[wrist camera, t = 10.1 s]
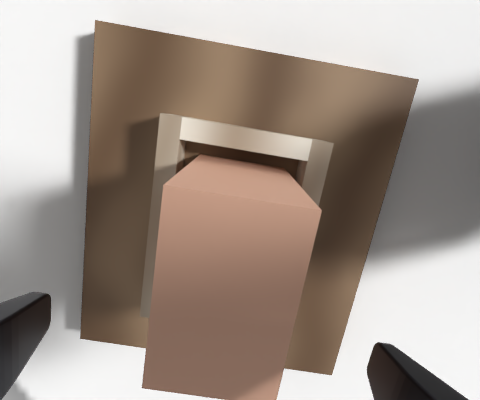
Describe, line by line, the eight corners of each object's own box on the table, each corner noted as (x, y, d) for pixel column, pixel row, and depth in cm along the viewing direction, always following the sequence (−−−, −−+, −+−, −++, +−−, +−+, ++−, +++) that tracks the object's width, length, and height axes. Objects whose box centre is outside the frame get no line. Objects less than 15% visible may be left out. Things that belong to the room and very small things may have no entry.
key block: (260, 284, 18) (274, 406, 10) (184, 273, 18) (141, 388, 10) (284, 168, 16) (321, 210, 9) (200, 154, 16) (163, 184, 9)
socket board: (403, 83, 17) (444, 73, 13) (325, 357, 21) (341, 402, 18) (108, 28, 16) (73, 4, 13) (91, 323, 21) (62, 363, 17)
